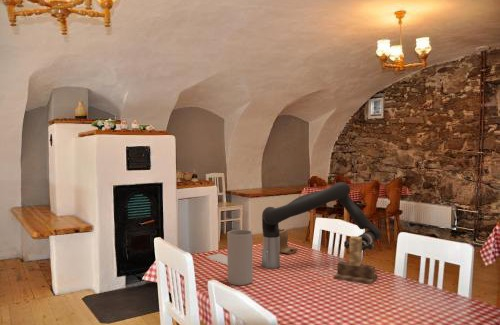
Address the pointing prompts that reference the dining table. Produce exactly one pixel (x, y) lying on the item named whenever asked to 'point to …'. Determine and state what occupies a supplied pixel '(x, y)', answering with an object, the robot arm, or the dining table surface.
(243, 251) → the cylinder vase
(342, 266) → the walnut ridge
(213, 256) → the baseboard
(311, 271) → the dining table surface
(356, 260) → the tan tall block
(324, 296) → the dining table surface
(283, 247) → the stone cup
